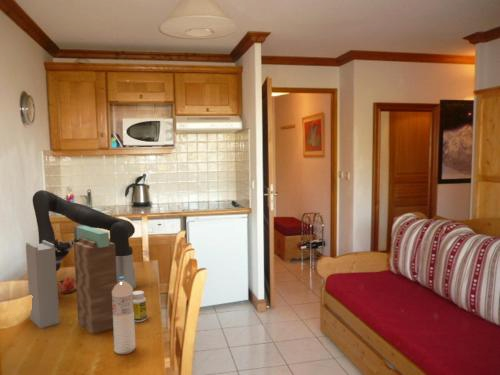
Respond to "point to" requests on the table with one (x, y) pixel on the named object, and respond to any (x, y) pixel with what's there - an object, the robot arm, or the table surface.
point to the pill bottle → (139, 306)
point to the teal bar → (92, 235)
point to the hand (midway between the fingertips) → (67, 239)
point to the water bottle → (123, 317)
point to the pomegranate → (67, 285)
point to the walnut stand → (95, 284)
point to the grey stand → (42, 283)
